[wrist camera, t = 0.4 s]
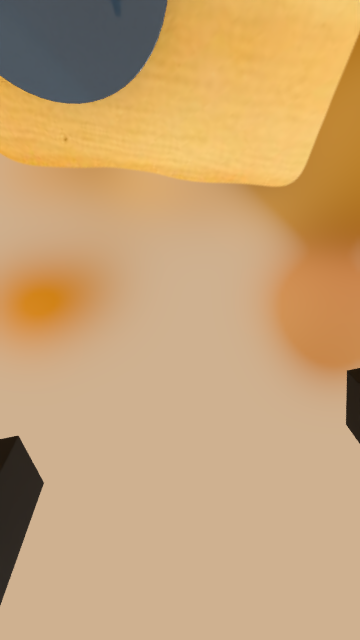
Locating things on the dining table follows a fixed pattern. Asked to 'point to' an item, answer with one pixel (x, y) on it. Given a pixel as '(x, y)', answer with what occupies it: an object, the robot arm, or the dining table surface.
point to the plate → (77, 45)
